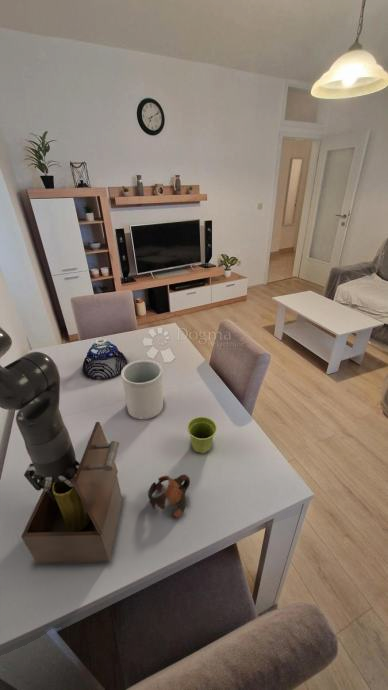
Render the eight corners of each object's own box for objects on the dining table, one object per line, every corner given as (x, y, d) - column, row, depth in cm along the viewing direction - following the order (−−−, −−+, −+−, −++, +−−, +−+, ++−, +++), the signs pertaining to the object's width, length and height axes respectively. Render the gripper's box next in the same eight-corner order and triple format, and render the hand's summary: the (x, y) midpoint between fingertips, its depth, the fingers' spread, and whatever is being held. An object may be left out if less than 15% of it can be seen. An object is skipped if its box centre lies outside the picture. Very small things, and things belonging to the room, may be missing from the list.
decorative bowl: (92, 355, 141) (87, 330, 134) (131, 356, 140) (127, 331, 133) (76, 379, 124) (69, 351, 116) (120, 380, 123) (116, 352, 116)
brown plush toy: (170, 530, 70) (153, 508, 68) (155, 512, 78) (139, 492, 76) (203, 492, 75) (188, 471, 73) (185, 479, 83) (171, 459, 81)
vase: (59, 530, 66) (43, 494, 58) (73, 504, 71) (60, 469, 64) (83, 534, 65) (70, 499, 58) (95, 508, 70) (84, 472, 63)
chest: (36, 563, 63) (20, 536, 57) (62, 500, 76) (51, 473, 70) (109, 561, 64) (100, 535, 58) (122, 499, 76) (116, 472, 70)
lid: (72, 483, 49) (103, 480, 49) (95, 421, 61) (120, 419, 61) (98, 534, 58) (125, 532, 57) (114, 471, 70) (136, 469, 70)
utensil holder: (172, 403, 110) (170, 367, 101) (147, 427, 99) (142, 388, 90) (144, 390, 117) (140, 355, 108) (118, 411, 106) (111, 374, 97)
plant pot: (221, 450, 90) (222, 431, 86) (196, 462, 86) (196, 443, 82) (206, 431, 98) (206, 413, 93) (182, 441, 93) (182, 423, 89)
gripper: (92, 431, 58) (105, 480, 66) (23, 432, 58) (45, 482, 66) (80, 462, 51) (96, 512, 60) (2, 463, 51) (29, 514, 60)
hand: (69, 496), depth 63 cm, fingers closed on vase, 5 cm apart
